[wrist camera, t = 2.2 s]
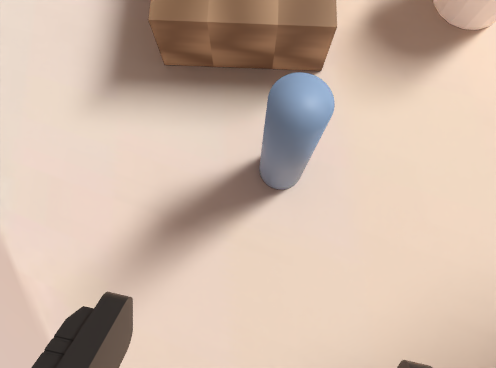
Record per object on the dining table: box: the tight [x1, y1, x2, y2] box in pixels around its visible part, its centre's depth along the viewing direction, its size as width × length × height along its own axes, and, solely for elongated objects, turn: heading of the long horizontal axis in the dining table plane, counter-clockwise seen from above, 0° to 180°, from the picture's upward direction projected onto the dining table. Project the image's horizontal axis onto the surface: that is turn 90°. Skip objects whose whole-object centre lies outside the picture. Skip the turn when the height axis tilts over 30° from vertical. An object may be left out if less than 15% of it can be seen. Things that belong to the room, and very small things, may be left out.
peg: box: [259, 72, 334, 190], centre depth 22 cm, size 3×3×10 cm
